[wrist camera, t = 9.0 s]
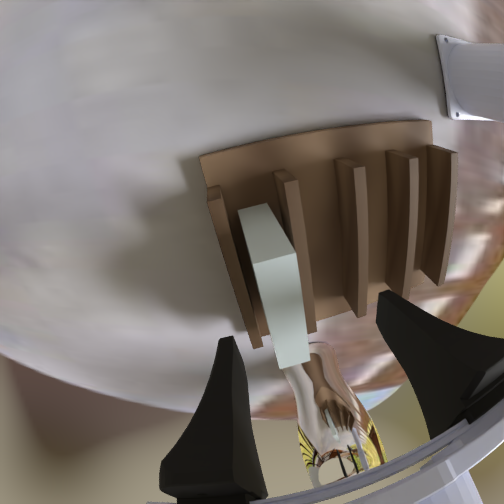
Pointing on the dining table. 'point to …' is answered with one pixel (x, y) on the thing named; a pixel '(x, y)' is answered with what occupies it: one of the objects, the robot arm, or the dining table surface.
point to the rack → (339, 213)
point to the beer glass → (331, 420)
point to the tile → (277, 283)
